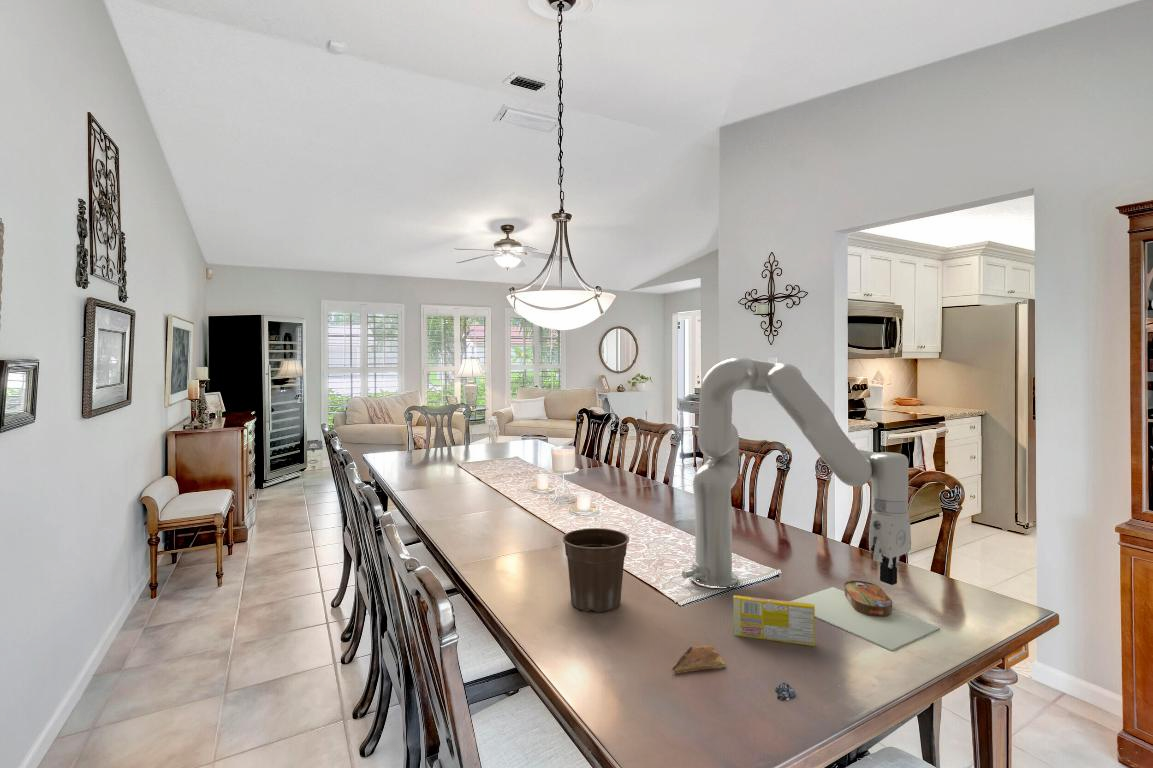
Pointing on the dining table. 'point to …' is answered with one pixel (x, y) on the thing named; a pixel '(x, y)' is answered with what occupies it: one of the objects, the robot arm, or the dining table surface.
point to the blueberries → (784, 692)
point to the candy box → (774, 620)
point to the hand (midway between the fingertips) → (888, 582)
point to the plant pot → (595, 567)
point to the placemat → (867, 620)
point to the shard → (699, 659)
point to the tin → (868, 598)
